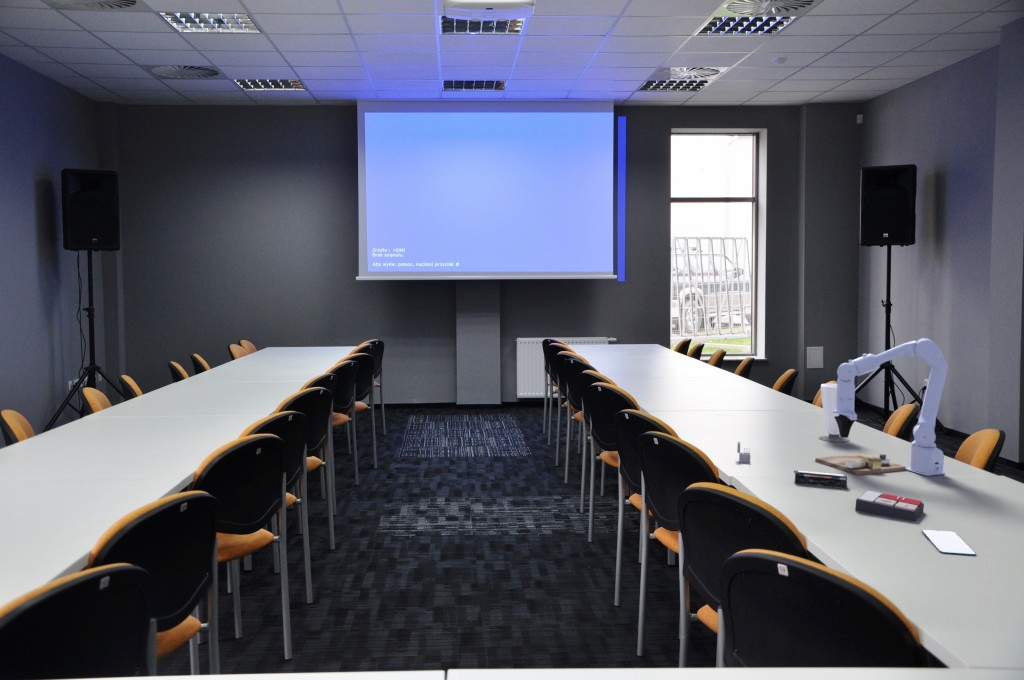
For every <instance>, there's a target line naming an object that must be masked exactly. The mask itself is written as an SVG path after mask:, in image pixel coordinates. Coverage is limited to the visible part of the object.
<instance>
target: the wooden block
mask: <svg viewBox="0 0 1024 680" xmlns="http://www.w3.org/2000/svg"><path fill="white" fill-rule="evenodd" d="M859 454H860V455H857V458H860V459H863V460H867V461H868V468H869V469H881V458H879V457H878V456H874V455H870V454H867V453H859Z"/></svg>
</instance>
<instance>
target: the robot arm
mask: <svg viewBox="0 0 1024 680" xmlns="http://www.w3.org/2000/svg"><path fill="white" fill-rule="evenodd" d="M915 354H916V356H917V357H918V358H920V360H921V359H922V361H924V362H925V363H926V364H927V366H928V367H929V368H930V372H929V375H928V376H929V377H928V380H927V384H926V385H927V386H926V389H925V394H924V397H923V402H922V406H921V411H920V414H919V418H918V421H917V423H916V424H915V426H913V429H912V435H913V439H914V440H913V441H911V444H910V465H909V467H906V470H905V471H909V472H913V473H917V474H919V475H924V476H926V477H928V476H936V475H938V476H939V475H944V474H946V473H945V472H944V458H945V456H944V451H942V449H940V448H938V447H937V444H936V442H935V441H936V437H937V436H936V433H935V428H936V420H937V415H938V412H939V411H938V410H939V407H940V403H941V397H942V394H943V389H944V386H945V381H946V377H947V372H948V367H949V366H948V363H947V361H946V359H945V356H944V355H943V353H942V350H941V348H939V346H938V345H937V344H936V343H935V342H934V341H933V340H932V339H930V338H927V337H922V338H918V339H917V340H910V341H907V342H905V343H902V344H899V345H897V346H894V347H892V348H891V349H887V350H885V351H883V352H880V353H878V354H873V353H868V354H867V352H866V353H862V356H860V357H857V358H855V359H848V362H843V363H841V364H840V365H839V366H838V368H837V371H836V374H837V381H836V382H837V383H836V384H837V398H836V407H834V410H833V413H837V414H839V416H835V417H834V418H835V420H836V422H837V424H838V428H839V433H840V437H842V438H848V439H849V437H850V436H849V435H850V431H851V428H852V426H853V424H854V423H855V421H857V420H858V414H857V413H856V411H855V397H856V396H855V395H856V384H855V377H856V376H857V377H861V376H863V375H865V374H869V373H871V372H873V371H876V370H878V369H879V367H880V365H881V364H883V363H886V362H889V361H893V360H894V359H898V358H901V357H903V356H906V357H907V356H908V357H915Z"/></svg>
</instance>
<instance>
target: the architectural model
mask: <svg viewBox="0 0 1024 680" xmlns="http://www.w3.org/2000/svg"><path fill="white" fill-rule="evenodd" d="M736 448H737V449H736V450H737V453H738V457H739V458H738V462H739V463H746V464H751V452H750V451H751V448H745V451H744V452H741V441H737V447H736Z"/></svg>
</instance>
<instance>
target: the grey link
mask: <svg viewBox="0 0 1024 680" xmlns="http://www.w3.org/2000/svg"><path fill="white" fill-rule="evenodd" d="M890 462H891V460H890V459H889V458H888V457H886V459H881V465H890ZM845 467H849V468H861V467H868V461H867V460H859V461H850V462H845Z"/></svg>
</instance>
